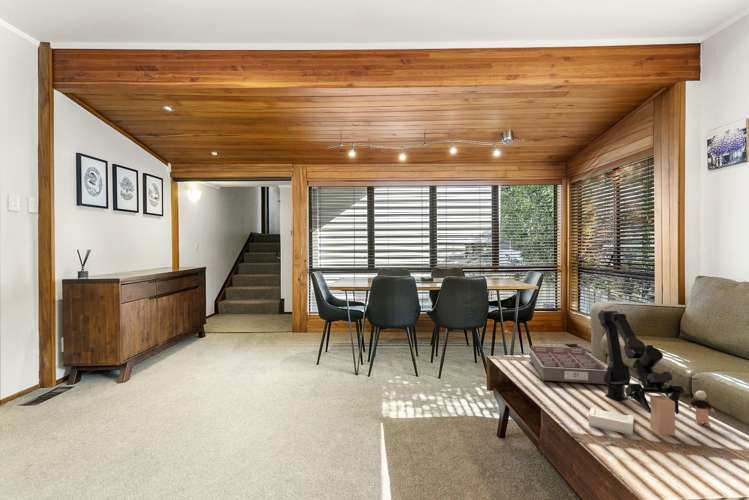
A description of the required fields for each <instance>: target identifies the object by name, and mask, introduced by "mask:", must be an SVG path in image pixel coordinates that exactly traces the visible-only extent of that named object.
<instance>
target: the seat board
mask: <svg viewBox="0 0 749 500" xmlns="http://www.w3.org/2000/svg"><path fill="white" fill-rule="evenodd" d="M634 422H635V417H634V415H633V414H628V415H627V414H622V413H616V412H611V411H606V410H601V409H596V407H590V409H589V412H588V426H590V427H594V428H600V429H604V430H608V431H612V432H613V431H614V432H616V433H617V432H618V433H623V434H626V435H631V436H633V434H634Z"/></svg>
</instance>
